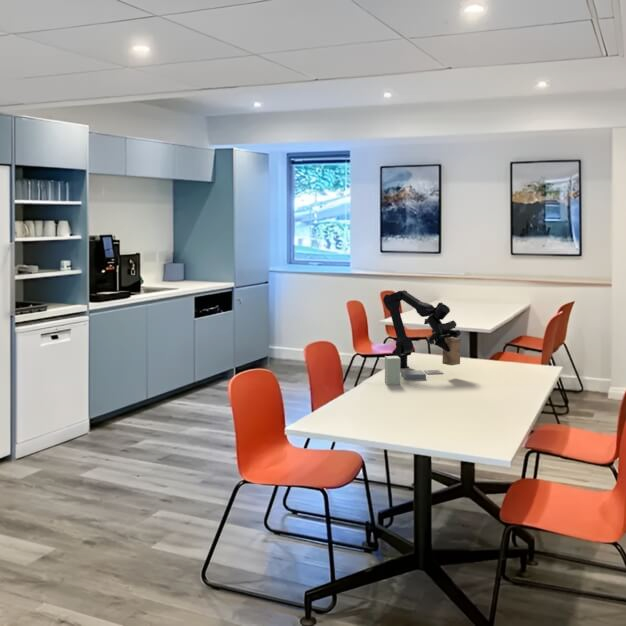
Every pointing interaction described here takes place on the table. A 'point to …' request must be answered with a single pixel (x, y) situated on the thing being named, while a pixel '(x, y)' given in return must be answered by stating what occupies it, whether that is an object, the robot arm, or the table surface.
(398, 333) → the robot arm
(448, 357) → the walnut pillar
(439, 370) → the tile
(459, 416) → the table surface
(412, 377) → the slate block
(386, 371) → the sage pillar
